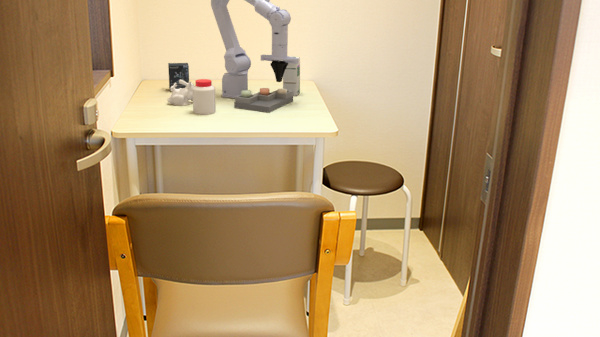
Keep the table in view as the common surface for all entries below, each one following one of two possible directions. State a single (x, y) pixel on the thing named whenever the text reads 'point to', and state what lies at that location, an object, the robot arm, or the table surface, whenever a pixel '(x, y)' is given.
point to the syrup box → (292, 77)
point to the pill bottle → (204, 97)
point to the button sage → (246, 93)
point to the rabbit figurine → (181, 94)
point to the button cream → (281, 90)
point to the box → (178, 74)
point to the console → (264, 101)
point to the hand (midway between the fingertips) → (279, 81)
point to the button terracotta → (264, 91)
